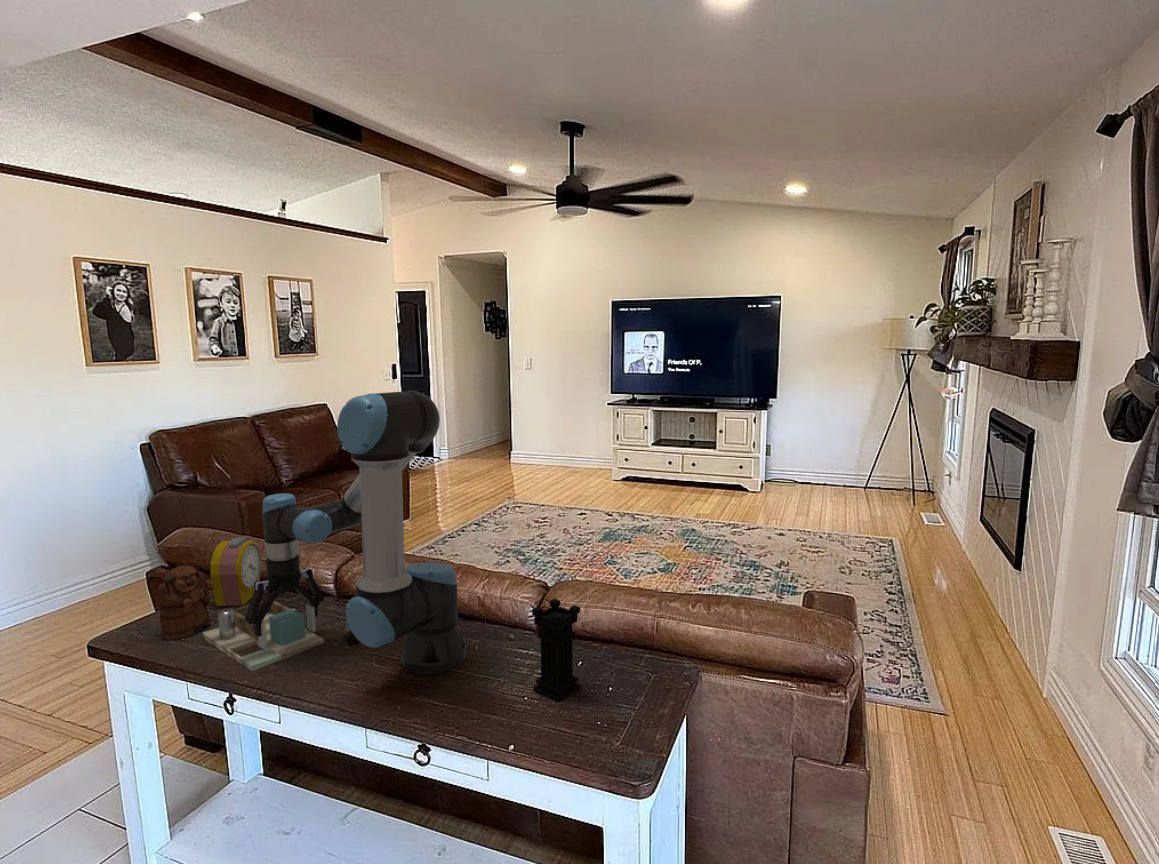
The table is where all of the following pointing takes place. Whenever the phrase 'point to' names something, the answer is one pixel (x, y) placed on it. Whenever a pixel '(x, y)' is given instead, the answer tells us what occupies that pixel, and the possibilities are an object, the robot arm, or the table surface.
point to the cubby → (249, 628)
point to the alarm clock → (235, 571)
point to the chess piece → (556, 650)
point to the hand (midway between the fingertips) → (287, 638)
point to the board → (263, 656)
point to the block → (287, 627)
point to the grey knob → (226, 624)
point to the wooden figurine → (183, 602)
